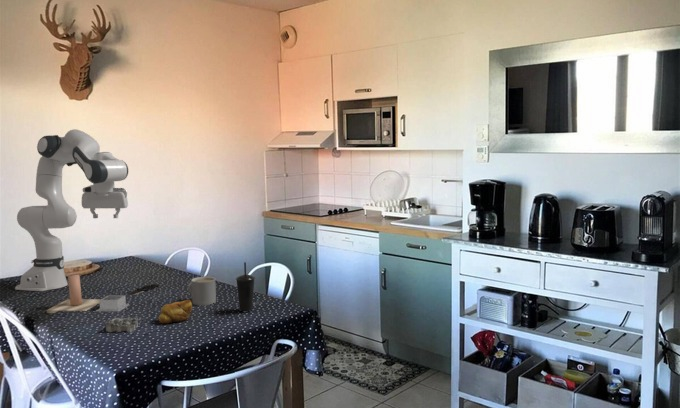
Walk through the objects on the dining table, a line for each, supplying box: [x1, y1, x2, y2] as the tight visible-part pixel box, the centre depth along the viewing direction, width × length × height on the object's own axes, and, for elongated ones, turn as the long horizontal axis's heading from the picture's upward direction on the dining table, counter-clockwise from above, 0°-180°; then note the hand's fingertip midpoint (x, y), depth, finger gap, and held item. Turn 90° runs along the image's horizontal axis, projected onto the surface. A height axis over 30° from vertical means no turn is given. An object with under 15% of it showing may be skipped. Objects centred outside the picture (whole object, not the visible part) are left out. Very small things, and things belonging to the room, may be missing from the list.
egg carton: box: [104, 317, 139, 333], centre depth 204 cm, size 11×8×4 cm
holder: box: [95, 295, 131, 312], centre depth 227 cm, size 10×10×5 cm
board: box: [46, 298, 102, 314], centre depth 231 cm, size 16×16×1 cm
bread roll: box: [158, 299, 193, 324], centre depth 213 cm, size 13×10×8 cm
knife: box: [127, 283, 160, 296], centre depth 255 cm, size 25×6×1 cm, turn 154°
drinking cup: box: [235, 262, 256, 311], centre depth 224 cm, size 8×8×20 cm
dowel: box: [67, 274, 83, 306], centre depth 231 cm, size 4×4×12 cm
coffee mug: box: [188, 276, 217, 307], centre depth 238 cm, size 13×10×10 cm
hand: (105, 218), depth 253 cm, fingers open, 8 cm apart
